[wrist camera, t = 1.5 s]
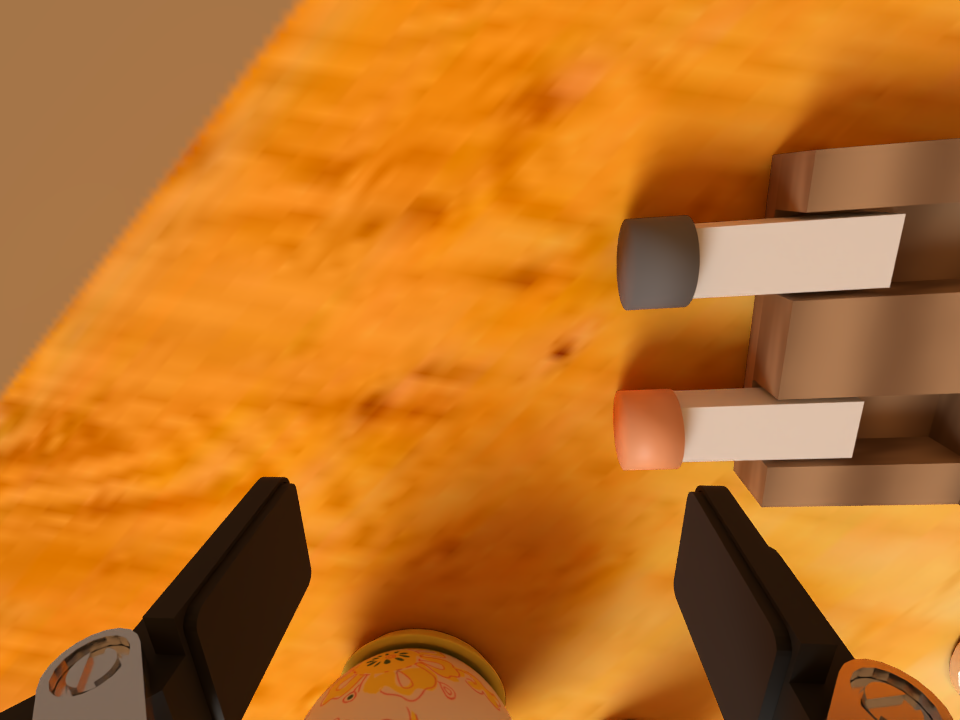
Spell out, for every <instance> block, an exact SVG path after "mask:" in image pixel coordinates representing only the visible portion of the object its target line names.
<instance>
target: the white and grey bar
mask: <svg viewBox="0 0 960 720" xmlns="http://www.w3.org/2000/svg"><path fill="white" fill-rule="evenodd" d="M905 216H906V214H902V213H888V212H875V211H867V212H853V213H839V214H824V215H810V216H796V217H781V218H767V219H753V220H739V221H724V222H710V223H696V224H694V222H693V220H692V219H691V218H690V217H689V216H687V215H680V216H666V217H652V218H638V219H625V220H624V221H623V223H622V225H621V228H620V233H619V238H618V247H617V281H618V290H619V296H620V300H621V303H622V306H623V308H624V309H625V310H639V309H658V308H676V307H686V306H688V305H689V304H690V302H691V301H692V299H693V298H710V297H728V296H746V295H764V294H782V293H800V292H818V291H835V290H853V289H871V288H889V287H890V283H891V279H892V274H893V270H894V265H895V261H896V256H897V252H898V247H899V243H900V238H901V234H902V229H903V225H904V220H905Z"/></svg>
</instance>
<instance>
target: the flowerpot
mask: <svg viewBox="0 0 960 720" xmlns="http://www.w3.org/2000/svg"><path fill="white" fill-rule="evenodd" d="M505 705H506V697H505V690H504V687H503V684H502V682H501V679H500V678H499V676H498V674H497V673H496V671H495V670H494V669H493V667H492V666H491V665H490V664H489V663H488V662H487V661H486V660H485V658H484V657H483V656H482V655H481V654H480V653H479V652H478V651H477V650H476V649H474V648H473V647H472V646H470V645H469V644H467V643H466V642H464V641H462V640H460V639H458V638H456V637H454V636H451V635H448V634H446V633H442V632H438V631H433V630H426V629H406V630H399V631H395V632H391V633H388V634H386V635H383V636H381V637H379V638H377V639H376V640H374V641H371V642H369V643H367V644H366V645H364V646H362V647H361V648H360V649H358V650H357V651H356V652H355V653H354V654H353V655H352V656H351V657H350V658H349V660H348V661H347V663H346V664H345V666H344V669H343V671H342V675H341V677H339V678H338V679H337V680H336V681H335V682H334V683H333V684H332V685H331V686H330V687H329V688H328V689H327V690H326V691H325V692H324V693H323V694H322V695H321V697H320V698H319V699H318V700H317V702H316V703H315V704H314V706H313V707H312V708H311V710H310V711H309V713H308V714H307V716H306V717H305V719H304V720H511V717H510V715H509V713H508V711H507V710H506V708H505Z"/></svg>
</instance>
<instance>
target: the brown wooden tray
mask: <svg viewBox="0 0 960 720" xmlns="http://www.w3.org/2000/svg"><path fill="white" fill-rule="evenodd" d="M867 211H875V212H888V213H902V214H906V216H905V220H904V225H903V229H902V234H901V238H900V243H899V247H898V252H897V256H896V261H895V265H894V270H893V274H892V279H891V283H890V287H889V288H871V289H853V290H835V291H818V292H800V293H782V294H764V295H755V302H754V310H753V318H752V326H751V334H750V342H749V350H748V358H747V366H746V374H745V382H744V388H759V387H763V388H764V389H766V390H767V391H768V392H769V393H770V394H772V395H773V396H774V397H775V398H777V399H778V400H784V399H812V398H840V397H858V398H859V399H861V400H863V401H864V405H863V410H862V414H861V419H860V423H859V428H858V432H857V437H856V441H855V446H854V450H853V455H852V458H823V459H782V460H742V461H735V462H734V472H735V473H736V474H737V475H738V477H739V478H740V479H741V481H742V482H743V483H744V485H745V486H746V487H747V489H748V490H749V491H750V493H751V494H752V495H753V496H754V498H755V499H756V500H757V502H758V503H759V504H760V506H761V507H801V506H864V505H927V504H959V505H960V138H956V139H944V140H932V141H919V142H907V143H895V144H883V145H871V146H858V147H846V148H834V149H822V150H811V151H803V152H794V153H786V154H777V155H773V157H772V165H771V173H770V181H769V189H768V197H767V205H766V213H765V219H767V218H781V217H796V216H810V215H824V214H839V213H853V212H867Z"/></svg>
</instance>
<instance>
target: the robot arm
mask: <svg viewBox="0 0 960 720" xmlns="http://www.w3.org/2000/svg"><path fill="white" fill-rule="evenodd" d="M310 579H311V566H310V560H309V555H308V549H307V544H306V539H305V533H304V528H303V522H302V517H301V511H300V506H299V501H298V495H297V490H296V486H295V485H294V484H290V483H289V480H288V479H287V478H285V477H262V478H260V479H259V480H258V481H257V482H256V483H255V484H254V486H253V487H252V488H251V489H250V490H249V492H248V493H247V494H246V495H245V496H244V497H243V499H242V500H241V501H240V502H239V503H238V505H237V506H236V507H235V508H234V509H233V511H232V512H231V513H230V514H229V515H228V516H227V518H226V519H225V520H224V521H223V522H222V524H221V525H220V526H219V527H218V528H217V529H216V531H215V532H214V533H213V534H212V535H211V537H210V538H209V539H208V540H207V541H206V543H205V544H204V545H203V546H202V547H201V548H200V550H199V551H198V552H197V553H196V554H195V556H194V557H193V558H192V559H191V560H190V561H189V563H188V564H187V565H186V566H185V567H184V569H183V570H182V571H181V572H180V573H179V575H178V576H177V577H176V578H175V579H174V580H173V582H172V583H171V584H170V585H169V586H168V588H167V589H166V590H165V591H164V592H163V594H162V595H161V596H160V597H159V598H158V599H157V601H156V602H155V603H154V604H153V605H152V607H151V608H150V609H149V610H148V611H147V612H146V614H145V615H144V616H143V619H142V620H141V622H140V623H139V624H138V625H137V626H136V627H135V629H134V630H133V631H132V630H130V629H123V628H117V629H110V630H105V631H102V632H100V633H97V634H94V635H91V636H89V637H87V638H85V639H84V640H82V641H80V642H78V643H76V644H75V645H73V646H72V647H70V648H69V649H68V650H66V651H65V652H63V653H62V654H61V655H60V656H59V657H58V658H57V659H56V660H55V661H54V662H53V663H52V664H51V665H49V667H48V668H47V670H46V671H45V672H44V674H43V675H42V677H41V678H40V681H39V684H38V687H37V689H36V695H34V696H32V697H30V698H28V699H26V700H24V701H22V702H21V703H19V704H17V705H15V706H13V707H11V708H9V709H7V710H5V711H3V712H1V713H0V720H242V718H243V716H244V714H245V712H246V710H247V708H248V706H249V704H250V702H251V700H252V698H253V696H254V694H255V692H256V690H257V688H258V686H259V684H260V682H261V680H262V678H263V676H264V674H265V672H266V670H267V668H268V666H269V664H270V662H271V660H272V658H273V656H274V654H275V652H276V650H277V648H278V646H279V644H280V642H281V640H282V638H283V636H284V634H285V632H286V630H287V628H288V626H289V624H290V622H291V620H292V618H293V616H294V613H295V611H296V609H297V607H298V605H299V603H300V601H301V599H302V597H303V595H304V593H305V591H306V589H307V587H308V585H309V582H310ZM674 592H675V596H676V599H677V602H678V604H679V607H680V609H681V612H682V614H683V617H684V620H685V622H686V625H687V627H688V630H689V632H690V635H691V637H692V640H693V642H694V645H695V647H696V650H697V652H698V655H699V657H700V660H701V662H702V665H703V667H704V670H705V672H706V675H707V677H708V680H709V682H710V685H711V688H712V690H713V693H714V695H715V698H716V700H717V703H718V705H719V708H720V710H721V713H722V715H723V718H724V720H953V718H952V716H951V715H950V713H949V711H948V710H947V708H946V707H945V706H944V705H943V703H942V702H941V701H940V700H939V699H938V698H937V697H936V696H935V695H934V694H933V693H932V692H931V691H930V690H929V689H927V688H926V687H925V686H924V685H922V684H921V683H920V682H919V681H917V680H916V679H914V678H913V677H911V676H909V675H908V674H906V673H904V672H903V671H901V670H899V669H897V668H895V667H892V666H890V665H887V664H885V663H882V662H878V661H874V660H869V659H854V657H853V656H852V654H851V653H850V652H849V650H848V649H847V648H846V646H845V645H844V643H843V642H842V641H841V639H840V638H839V636H838V635H837V634H836V632H835V631H834V629H833V628H832V627H831V625H830V624H829V623H828V621H827V620H826V618H825V617H824V616H823V614H822V613H821V611H820V610H819V609H818V607H817V606H816V605H815V603H814V602H813V600H812V599H811V598H810V596H809V595H808V593H807V592H806V591H805V589H804V588H803V586H802V585H801V584H800V582H799V581H798V580H797V578H796V577H795V575H794V574H793V573H792V571H791V570H790V568H789V567H788V566H787V564H786V563H785V561H784V560H783V559H782V557H781V556H780V555H779V554H778V553H777V551H776V550H775V549H773V548H771V547H769V546H768V545H767V544H766V542H765V541H764V539H763V538H762V537H761V535H760V534H759V532H758V531H757V529H756V528H755V527H754V525H753V524H752V522H751V521H750V520H749V518H748V517H747V515H746V514H745V512H744V511H743V510H742V508H741V507H740V505H739V504H738V503H737V501H736V500H735V498H734V497H733V495H732V494H731V493H730V491H729V490H728V489H727V488H726V487H725V486H697V488H696V490H695V492H689V494H688V497H687V503H686V509H685V515H684V521H683V527H682V533H681V540H680V546H679V552H678V558H677V564H676V570H675V576H674ZM949 672H950V679H951V682H952V684H953V686H954V688H955V690H956V691H957V692H958V693H959V694H960V642H959V643H958V645H957V646H956V648H955V650H954V653H953V655H952V657H951V661H950V668H949Z"/></svg>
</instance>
